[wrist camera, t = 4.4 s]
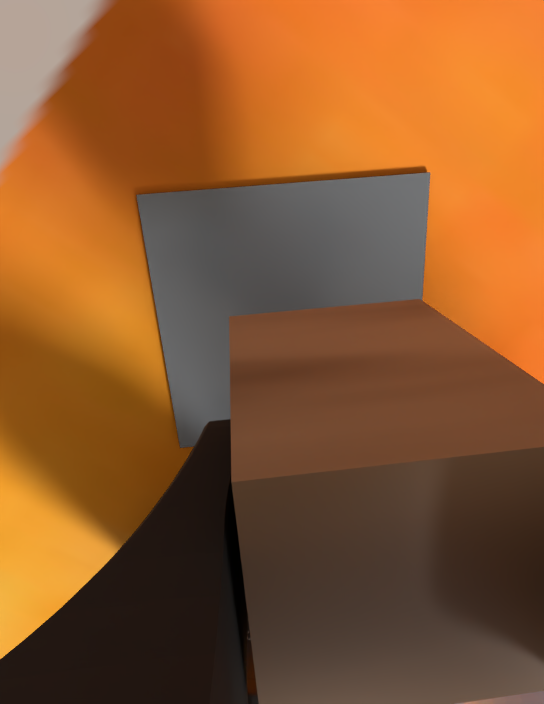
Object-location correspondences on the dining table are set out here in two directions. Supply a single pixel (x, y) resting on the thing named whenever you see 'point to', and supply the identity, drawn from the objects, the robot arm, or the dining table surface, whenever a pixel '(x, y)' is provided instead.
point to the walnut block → (386, 507)
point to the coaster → (271, 266)
